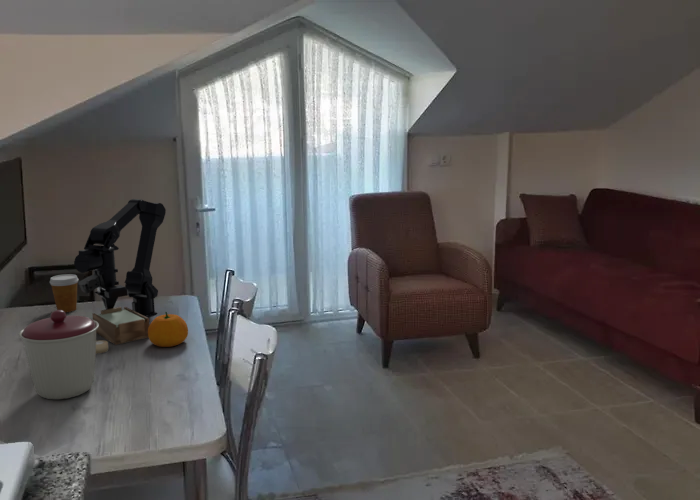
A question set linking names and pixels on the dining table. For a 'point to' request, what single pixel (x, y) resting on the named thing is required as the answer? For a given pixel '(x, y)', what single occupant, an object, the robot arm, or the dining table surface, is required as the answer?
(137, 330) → the walnut box
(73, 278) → the disposable coffee cup
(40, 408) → the dining table surface
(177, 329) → the fruit
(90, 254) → the robot arm
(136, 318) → the lid
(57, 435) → the dining table surface
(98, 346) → the tape roll
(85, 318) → the canister
